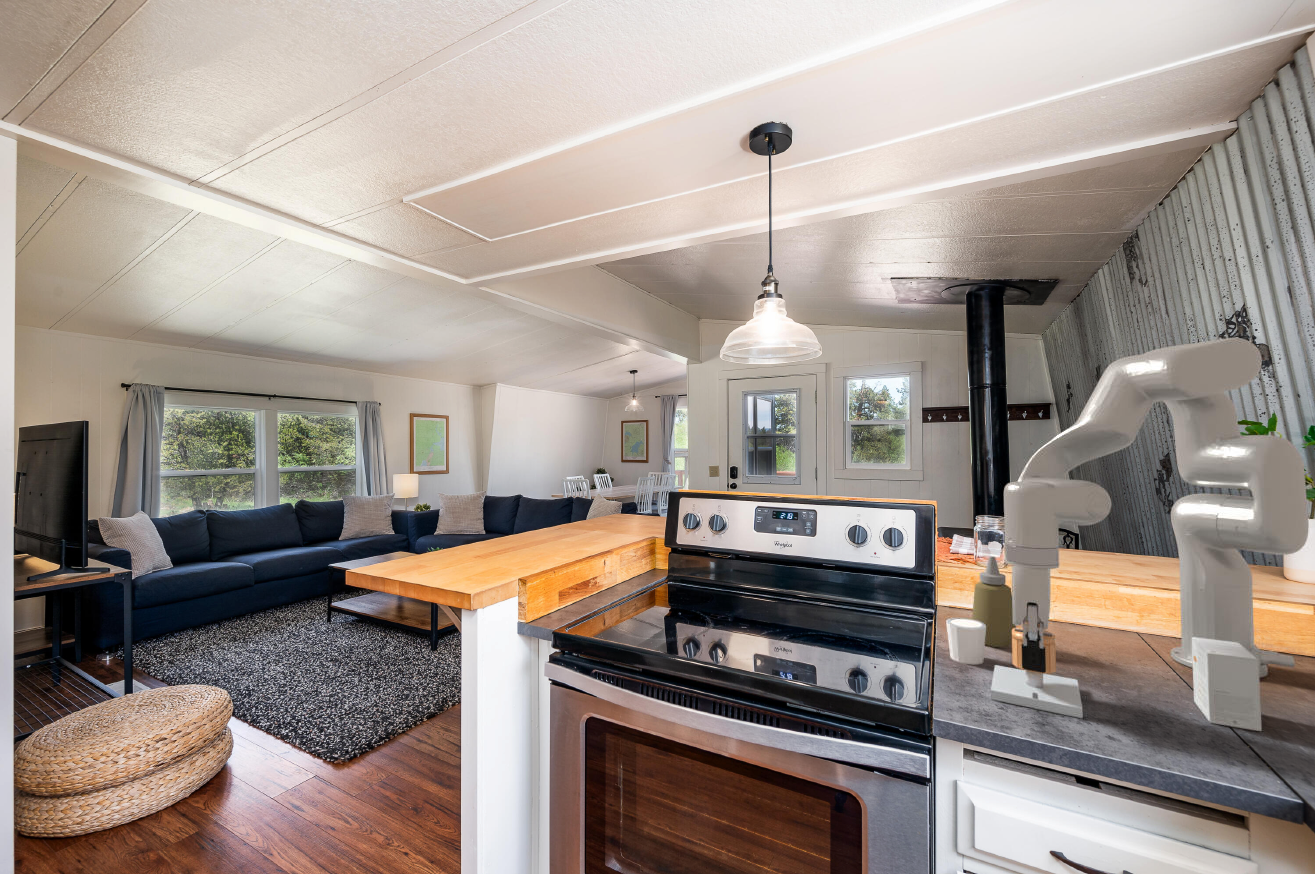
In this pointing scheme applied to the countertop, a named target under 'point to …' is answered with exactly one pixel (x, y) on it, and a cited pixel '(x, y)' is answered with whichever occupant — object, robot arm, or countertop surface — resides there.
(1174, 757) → the countertop surface
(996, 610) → the squeeze bottle
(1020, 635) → the cap
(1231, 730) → the countertop surface
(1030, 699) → the knob base plate
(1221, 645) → the small box
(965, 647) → the white cup
